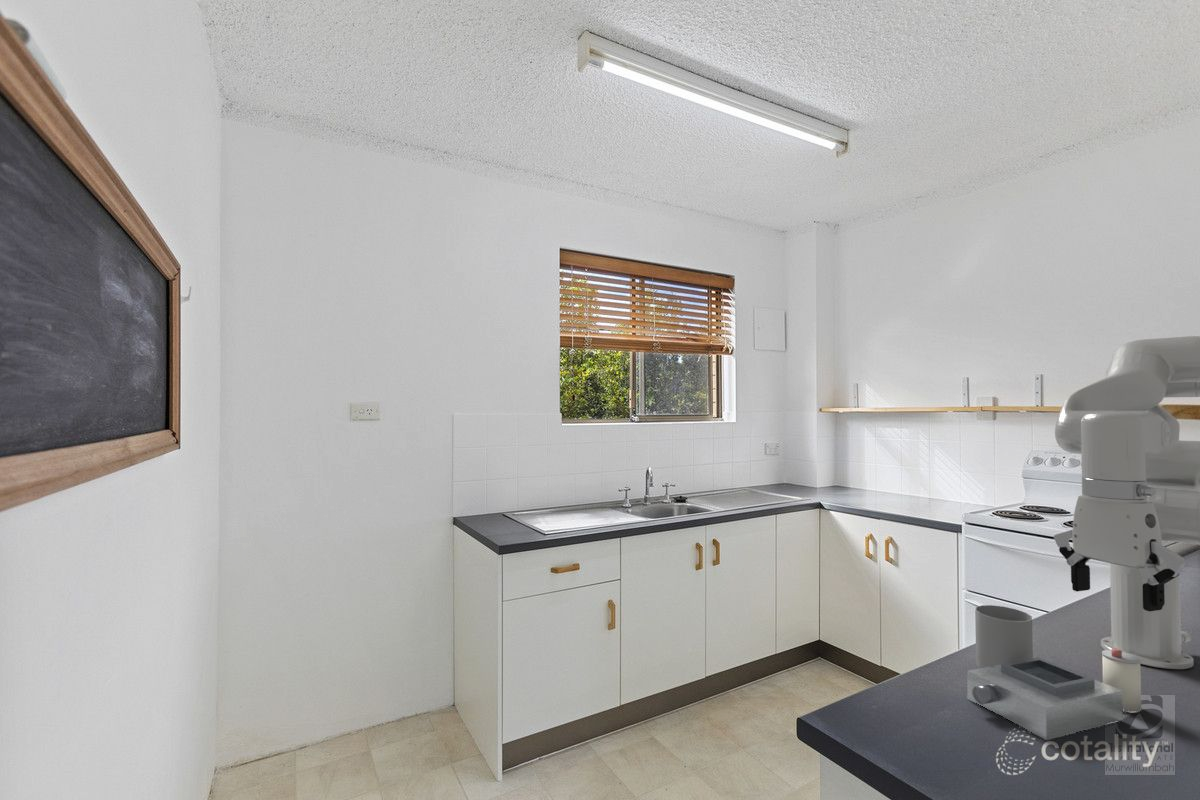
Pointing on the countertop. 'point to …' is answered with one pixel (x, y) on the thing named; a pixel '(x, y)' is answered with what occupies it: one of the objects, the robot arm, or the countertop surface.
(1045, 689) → the grey holder block
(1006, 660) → the cup
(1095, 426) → the robot arm
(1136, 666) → the cream white cylinder
